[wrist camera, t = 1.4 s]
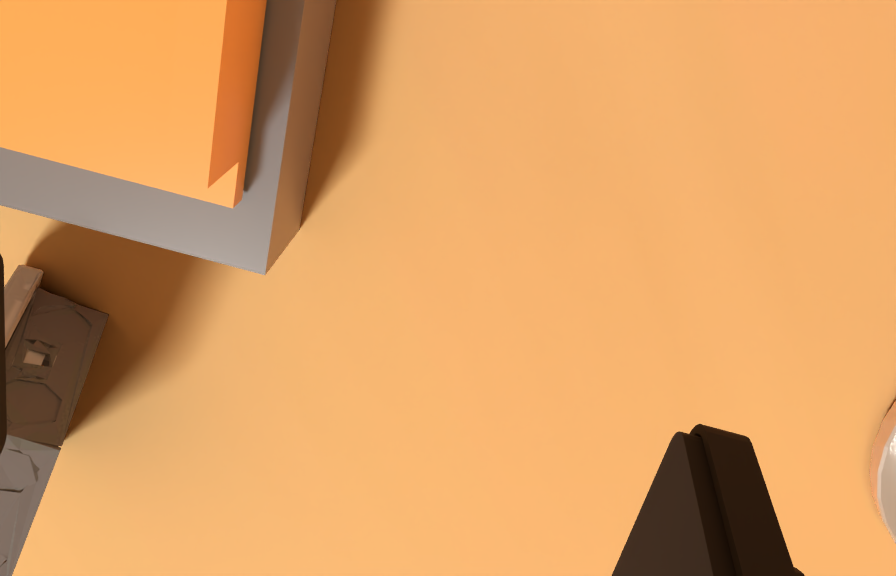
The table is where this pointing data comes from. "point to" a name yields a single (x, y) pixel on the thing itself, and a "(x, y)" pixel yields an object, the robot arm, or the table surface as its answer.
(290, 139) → the socket housing
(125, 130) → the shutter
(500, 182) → the table surface
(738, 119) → the table surface
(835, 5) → the table surface
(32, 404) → the electrical switch
